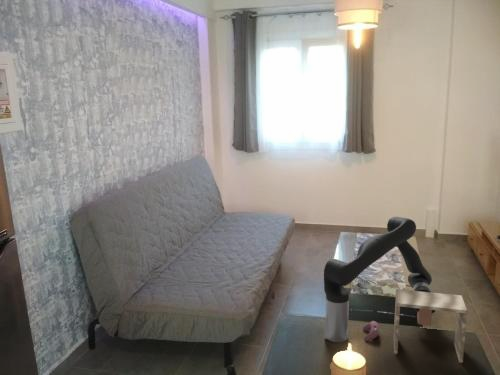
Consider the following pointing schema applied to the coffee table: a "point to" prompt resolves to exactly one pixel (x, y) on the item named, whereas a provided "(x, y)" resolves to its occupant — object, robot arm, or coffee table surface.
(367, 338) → the mauve looped ornament
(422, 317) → the terracotta block
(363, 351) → the coffee table surface
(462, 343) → the clear acrylic riser
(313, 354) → the coffee table surface
